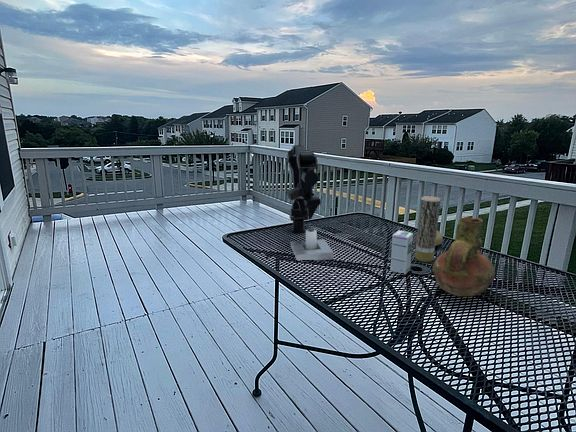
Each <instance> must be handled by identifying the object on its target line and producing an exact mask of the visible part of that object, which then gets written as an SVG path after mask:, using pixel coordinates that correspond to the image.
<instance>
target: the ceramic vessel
mask: <svg viewBox="0 0 576 432" xmlns="http://www.w3.org/2000/svg"><path fill="white" fill-rule="evenodd" d="M483 222H484V221H483V219H482V218H480V217H468V216H467V217H466V216H465V217H464V216H463V218H462V217H460V218H459V219H458V222H457V225H456V229H455V230H456V231H455V237H454V241H453V242H452V243H451V244H450V246H449V248H448V250H447V251H445V252H442V254H440V255H439V256H437V258H436V259H435V261H434V262H433V264H432V272H433V273H434V277H435V281H436V283H437V285H438V286H439V288H440V289H441V290H442V291H445V292H446V293H448V294H451V295H453V296H458V297H472V296H474V297H475V296H478V295H480V294H482V293H484V292H485V291H486V290H487V289H488V288H489V287H490V285H491V283H493V281H494V279H495V275H496V272H495V271H496V270H495V267H494V264H493V262H492V261H491V260H490V258H488V257H487V256H486V255H483V254H482V252H481V249H482V245H483V241H482V238H481V235H482V231H483V230H482V228H483V224H484V223H483Z"/></svg>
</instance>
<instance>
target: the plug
mask: <svg viewBox="0 0 576 432" xmlns="http://www.w3.org/2000/svg"><path fill="white" fill-rule="evenodd" d="M305 230H306V232H305V240H306V250H316V244H317V240H318V239H317V236H318V235H317V232H318V231H317V230H316V229H315V228H314V227H308V229H305Z"/></svg>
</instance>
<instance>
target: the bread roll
mask: <svg viewBox="0 0 576 432" xmlns="http://www.w3.org/2000/svg"><path fill="white" fill-rule="evenodd" d="M443 240H444V237H443V235H442V233H441V231H440V230H437V233H436V241H435V247H436V246H439V245H441V244H442V243H443ZM416 242H417V234H416V236H415V243H416Z"/></svg>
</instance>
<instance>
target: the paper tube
mask: <svg viewBox="0 0 576 432" xmlns="http://www.w3.org/2000/svg"><path fill="white" fill-rule="evenodd" d="M441 200H442V199H441V197H438V196H431V195H430V196H429V195H424V196H421V198H420V203H419V205H420V207H419V215H418V216H419V217H418V223H417V232H416V235H417V242H416V241H415V243H416V245H415V253H414V258H415V259H416V260H418V261H420V262H424V263H430V262H432V261H433V260H434V255H435V249H436V246H435V241H436V233H437V231H438V226H439V225H438V224H439V215H440V210H441V209H440V208H441V202H442V201H441Z"/></svg>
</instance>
